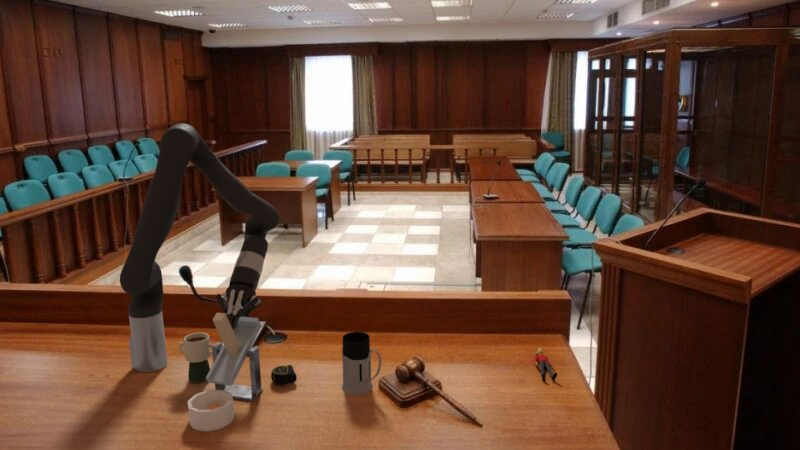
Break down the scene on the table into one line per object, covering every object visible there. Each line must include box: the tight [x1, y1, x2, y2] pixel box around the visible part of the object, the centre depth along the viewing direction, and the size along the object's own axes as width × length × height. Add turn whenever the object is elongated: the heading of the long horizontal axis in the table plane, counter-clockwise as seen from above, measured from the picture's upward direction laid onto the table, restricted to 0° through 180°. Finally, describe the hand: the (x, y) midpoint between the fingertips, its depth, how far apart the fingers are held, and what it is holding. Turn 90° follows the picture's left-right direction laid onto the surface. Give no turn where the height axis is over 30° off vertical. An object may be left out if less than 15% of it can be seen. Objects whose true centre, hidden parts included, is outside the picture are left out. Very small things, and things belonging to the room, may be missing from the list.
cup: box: [187, 389, 235, 433], centre depth 161 cm, size 11×11×6 cm
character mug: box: [178, 332, 215, 383], centre depth 182 cm, size 11×7×13 cm, turn 82°
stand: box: [211, 341, 264, 402], centre depth 173 cm, size 12×6×14 cm, turn 76°
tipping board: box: [206, 312, 262, 385], centre depth 168 cm, size 9×20×16 cm, turn 166°
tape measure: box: [270, 364, 298, 386], centre depth 181 cm, size 7×7×4 cm
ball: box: [208, 403, 220, 410], centre depth 163 cm, size 3×3×3 cm
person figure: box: [533, 347, 558, 382], centre depth 189 cm, size 5×4×18 cm
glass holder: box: [341, 331, 382, 395], centre depth 175 cm, size 9×14×15 cm, turn 44°
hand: (229, 329), depth 168 cm, fingers closed
